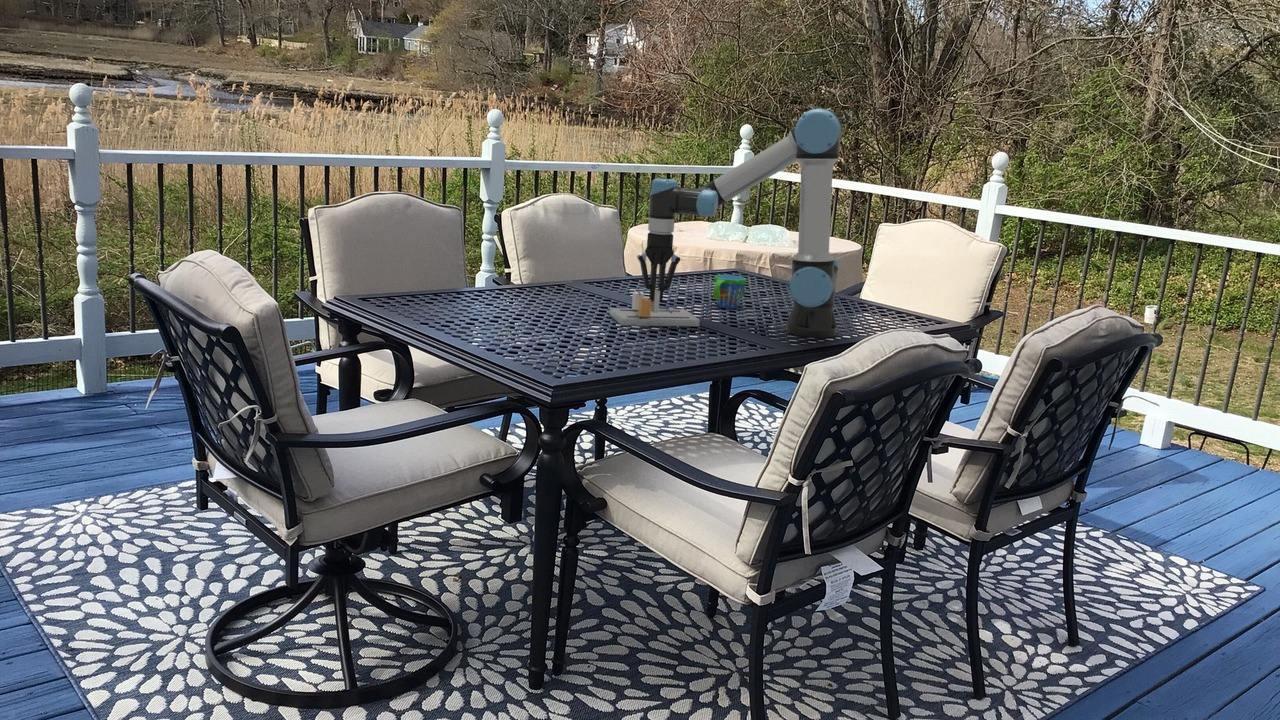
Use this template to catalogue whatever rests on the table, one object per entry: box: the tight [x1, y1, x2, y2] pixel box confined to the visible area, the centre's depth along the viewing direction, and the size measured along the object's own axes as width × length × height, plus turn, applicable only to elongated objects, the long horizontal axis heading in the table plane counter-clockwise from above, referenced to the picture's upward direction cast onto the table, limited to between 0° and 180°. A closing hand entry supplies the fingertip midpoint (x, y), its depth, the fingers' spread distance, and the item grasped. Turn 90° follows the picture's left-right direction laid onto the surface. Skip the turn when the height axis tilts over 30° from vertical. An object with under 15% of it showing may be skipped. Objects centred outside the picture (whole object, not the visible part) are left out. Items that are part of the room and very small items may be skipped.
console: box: [609, 307, 701, 327], centre depth 297 cm, size 17×24×2 cm
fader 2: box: [638, 296, 652, 317], centre depth 291 cm, size 4×3×5 cm
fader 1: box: [631, 290, 645, 310], centre depth 300 cm, size 4×3×5 cm
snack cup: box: [712, 274, 748, 310], centre depth 326 cm, size 16×10×10 cm
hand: (655, 311), depth 292 cm, fingers closed
